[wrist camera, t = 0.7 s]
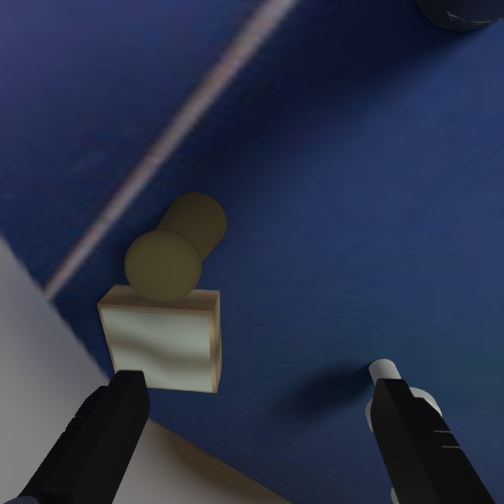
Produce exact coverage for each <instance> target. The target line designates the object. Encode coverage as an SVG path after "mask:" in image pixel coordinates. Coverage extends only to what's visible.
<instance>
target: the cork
mask: <svg viewBox="0 0 504 504" xmlns="http://www.w3.org/2000/svg"><path fill="white" fill-rule="evenodd" d="M226 230H227V219H226V215H225V212H224V210H223V209H222V207H221V206H220V204H219V203H218V202H217V201H215V200H214V199H213V198H212V197H210V196H208V195H205V194H203V193H196V192H191V193H186V194H183V195H181V196H180V197H178V198H176V199H175V200H174V202H173V203H172V204H171V206H170V207H169V209H168V210H167V212H166V214H165V215H164V217H163V218H162V220H161V221H160V223H159V225H158V226H157V228H156V229H155V230H153V231H149V232H146V233H145V234H143V235H142V236H140V237H138V238H137V239H136V240H135V241H134V242H133V243H132V245H131V246H130V247H129V249H128V251H127V253H126V256H125V261H124V267H125V274H126V278H127V280H128V282H129V284H130V285H131V287H132V288H133V289H134V290H135V291H136V292H137V293H138V294H140V295H141V296H143V297H144V298H146V299H149V300H152V301H154V302H162V303H166V302H172V301H177V300H180V299H182V298H183V297H185V296H187V295H188V294H189V293H190V292H191V291H192V290H193V289H194V288H195V287H196V285H197V283H198V281H199V278H200V276H201V273H202V262H203V260H204V259H205V258H206V257H207V256H208V255H209V254H210V252H211V251H212V250H213V249H214V248H215V247H216V246H217V244H218V243H219V242H220V241H221V240H222V239H223V237H224V235H225V232H226Z"/></svg>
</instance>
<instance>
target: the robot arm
mask: <svg viewBox="0 0 504 504" xmlns="http://www.w3.org/2000/svg"><path fill="white" fill-rule="evenodd" d="M415 3H416V5H417V6H418V8H419V9H420V11H421V12H422V14H423V15H424V16H425V17H426V18H427V19H428V20H429V21H430V22H432V23H433V24H434V25H436V26H439V27H441V28H443V29H445V30H452V31H459V32H460V31H468V30H475V29H478V28H481V27H483V26H486V25H489V24H491V23H494V22H496V21H500V20H502V19H504V0H415ZM149 410H150V399H149V395H148V390H147V386H146V381H145V376H144V373H143V371H142V370H119V371H117V372H116V374H115V375H114V377H113V378H112V380H111V381H110V383H109V385H108V386H100V387H99V388H98V389H97V390H96V391H95V392H93V393H92V394H91V395H90V396H89V397H88V398H87V399H86V400H85V401H84V402H83V404H82V405H81V407H80V408H79V410H78V411H77V413H76V414H75V417H74V418H72V420H71V421H70V423H69V424H68V426H67V427H66V430H65V432H63V433H62V434H61V436H60V437H59V439H58V440H57V442H56V443H55V445H54V446H53V448H52V449H51V450H50V452H49V453H48V455H47V456H46V458H45V459H44V461H43V462H42V463H41V465H40V466H39V468H38V469H37V471H36V472H35V474H34V475H33V477H32V478H31V479H30V481H29V482H28V484H27V485H26V487H25V488H24V489H23V491H22V492H21V493H20V494H19V495H18V496H17V498H14V499H12V500H10V501H7V502H6V503H4V504H112V502H113V500H114V497H115V495H116V493H117V490H118V488H119V485H120V483H121V481H122V478H123V476H124V474H125V471H126V469H127V466H128V464H129V462H130V459H131V457H132V455H133V452H134V450H135V448H136V445H137V443H138V440H139V438H140V436H141V433H142V431H143V429H144V426H145V424H146V421H147V419H148V415H149ZM370 418H371V425H372V429H373V432H374V435H375V438H376V440H377V443H378V446H379V449H380V452H381V454H382V457H383V460H384V463H385V465H386V468H387V471H388V474H389V477H390V479H391V482H392V485H393V488H394V491H395V493H396V496H397V499H398V502H399V504H495V502H494V501H493V499H492V497H491V496H490V494H489V493H488V491H487V489H486V488H485V486H484V484H483V483H482V481H481V480H480V478H479V476H478V475H477V473H476V472H475V470H474V468H473V467H472V465H471V463H470V462H469V460H468V459H467V457H466V455H465V454H464V452H463V450H461V449H460V446H459V444H458V442H457V441H456V439H455V438H454V436H453V434H451V433H450V429H449V428H448V426H447V425H446V423H445V421H444V420H443V418H442V417H441V415H440V413H439V412H438V411H437V410H436V409H435V408H434V407H433V406H432V405H431V404H430V403H428V402H427V401H426V400H425V399H424V398H423V397H414V395H413V394H412V392H411V390H410V388H409V386H408V385H407V383H406V382H405V381H404V380H403V379H392V378H378V379H377V381H376V386H375V390H374V395H373V400H372V404H371V409H370Z"/></svg>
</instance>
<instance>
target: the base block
mask: <svg viewBox="0 0 504 504" xmlns="http://www.w3.org/2000/svg"><path fill="white" fill-rule="evenodd" d="M97 306H98V310H99V314H100V318H101V321H102V325H103V329H104V333H105V336H106V340H107V344H108V348H109V351H110V355H111V359H112V363H113V366H114V370H115V374H116V372H117V371H119V370H142V371H143V373H144V376H145V381H146V386H147V388H160V389H172V390H185V391H197V392H210V393H217V389H218V384H219V379H220V375H221V370H222V356H221V326H220V296H219V291H216V290H199V289H193V290H192V291H191V292H190V293H189V294H188V295H187V296H185V297H183V298H182V299H180V300H177V301H172V302H166V303H162V302H154V301H152V300H149V299H146V298H144V297H143V296H141V295H140V294H138V293H137V292H136V291H135V290H134V289H133V288H132V287H131V285H114V287H113V288H112V289H111V290H110V291H109V292H108V293H107V294H106V295H105V296H104V297H103V298H102V299H101V300H100V301H99V302H98V303H97Z"/></svg>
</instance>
